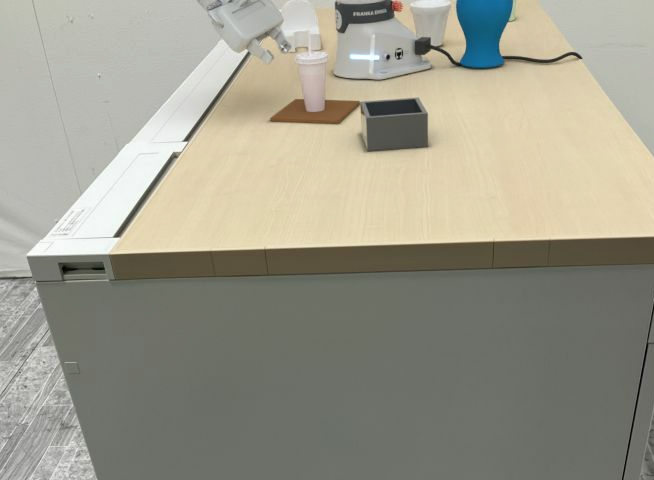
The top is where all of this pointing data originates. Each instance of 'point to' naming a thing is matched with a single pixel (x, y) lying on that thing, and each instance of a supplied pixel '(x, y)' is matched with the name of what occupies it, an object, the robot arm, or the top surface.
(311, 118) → the coaster
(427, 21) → the cup
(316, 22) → the white u-slot block
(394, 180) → the top surface
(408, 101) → the holder
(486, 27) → the vase
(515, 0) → the candle
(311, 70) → the smoothie
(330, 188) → the top surface
